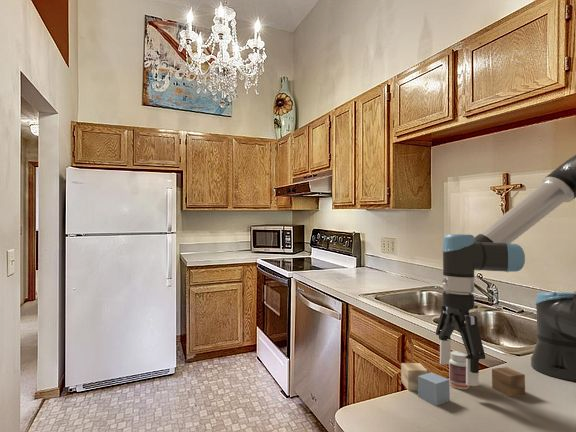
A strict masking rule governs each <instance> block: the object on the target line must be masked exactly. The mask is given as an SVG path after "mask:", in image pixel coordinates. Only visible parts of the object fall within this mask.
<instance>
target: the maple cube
mask: <svg viewBox="0 0 576 432" xmlns="http://www.w3.org/2000/svg"><path fill="white" fill-rule="evenodd" d="M400 370H401V371H400V373H401V374H400V377H401V380H400V382H401V383H402V384H403V386H404V387H405V388H406V390H407V391H418V376H420V375H424V374H427V373H429V372H428V369H427V368H425V367H424V366H423V365H422V364H421V363H420V362H417V363H416V362H411V363H410V362H401V363H400Z"/></svg>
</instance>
